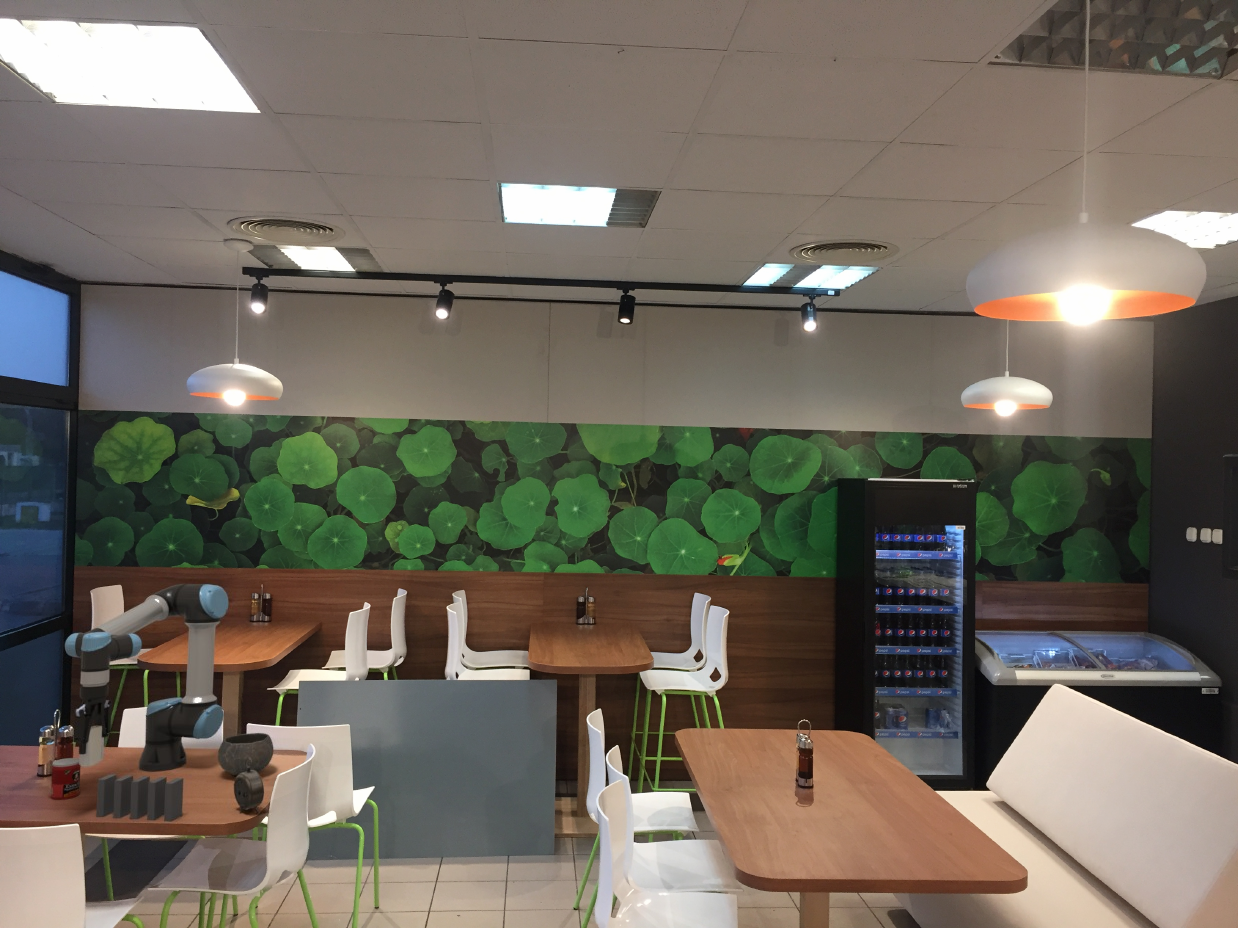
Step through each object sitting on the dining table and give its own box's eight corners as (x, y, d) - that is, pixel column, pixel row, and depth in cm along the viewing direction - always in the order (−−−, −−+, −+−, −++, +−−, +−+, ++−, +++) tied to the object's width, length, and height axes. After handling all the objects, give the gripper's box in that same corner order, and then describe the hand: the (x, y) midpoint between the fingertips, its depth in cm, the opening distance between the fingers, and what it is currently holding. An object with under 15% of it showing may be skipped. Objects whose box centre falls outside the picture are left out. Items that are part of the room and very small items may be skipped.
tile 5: (147, 819, 258) (148, 782, 258) (158, 813, 263) (159, 776, 263) (153, 820, 257) (155, 782, 258) (165, 814, 262) (166, 777, 263)
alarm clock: (264, 813, 264) (266, 758, 265) (247, 817, 260) (249, 762, 261) (246, 804, 271) (248, 752, 272) (229, 809, 267) (231, 755, 268)
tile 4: (130, 818, 258) (131, 781, 259) (141, 812, 264) (143, 775, 264) (136, 819, 258) (138, 781, 259) (148, 813, 263) (149, 776, 264)
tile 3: (113, 817, 259) (114, 780, 260) (125, 811, 264) (126, 774, 265) (120, 818, 259) (121, 780, 259) (132, 812, 264) (133, 775, 264)
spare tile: (81, 766, 261) (82, 729, 262) (94, 761, 266) (95, 725, 267) (88, 766, 261) (89, 729, 262) (100, 761, 266) (102, 725, 267)
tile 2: (96, 816, 260) (97, 779, 260) (108, 810, 265) (110, 773, 266) (103, 817, 260) (104, 779, 260) (115, 811, 265) (116, 774, 265)
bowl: (226, 785, 290) (228, 747, 290) (210, 772, 303) (211, 736, 304) (280, 775, 301) (281, 738, 302) (262, 763, 315) (263, 727, 316)
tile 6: (164, 820, 257) (165, 783, 257) (175, 814, 262) (176, 777, 263) (171, 821, 257) (172, 783, 257) (182, 815, 262) (183, 778, 262)
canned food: (65, 800, 273) (67, 765, 274) (44, 798, 275) (45, 763, 275) (85, 793, 281) (86, 758, 281) (64, 791, 282) (65, 756, 283)
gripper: (104, 678, 274) (101, 752, 273) (60, 689, 256) (56, 769, 255) (126, 678, 273) (123, 753, 272) (83, 690, 255) (80, 771, 254)
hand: (91, 761), depth 264 cm, fingers closed on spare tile, 5 cm apart
